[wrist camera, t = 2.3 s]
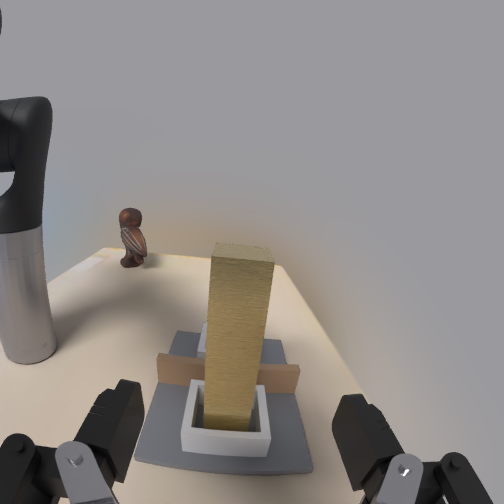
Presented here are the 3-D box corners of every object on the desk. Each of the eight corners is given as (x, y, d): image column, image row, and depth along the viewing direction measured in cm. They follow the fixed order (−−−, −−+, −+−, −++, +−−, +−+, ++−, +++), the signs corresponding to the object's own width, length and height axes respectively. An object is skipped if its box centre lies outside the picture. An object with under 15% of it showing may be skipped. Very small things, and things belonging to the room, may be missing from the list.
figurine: (152, 270, 67) (153, 208, 65) (132, 272, 63) (132, 208, 61) (133, 261, 76) (134, 207, 74) (115, 262, 72) (116, 207, 70)
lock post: (245, 442, 22) (274, 262, 18) (203, 439, 22) (211, 255, 18) (244, 414, 26) (268, 247, 22) (206, 411, 26) (216, 242, 22)
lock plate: (311, 472, 20) (324, 447, 19) (135, 460, 18) (127, 433, 17) (279, 344, 43) (284, 320, 42) (177, 335, 42) (177, 310, 41)
